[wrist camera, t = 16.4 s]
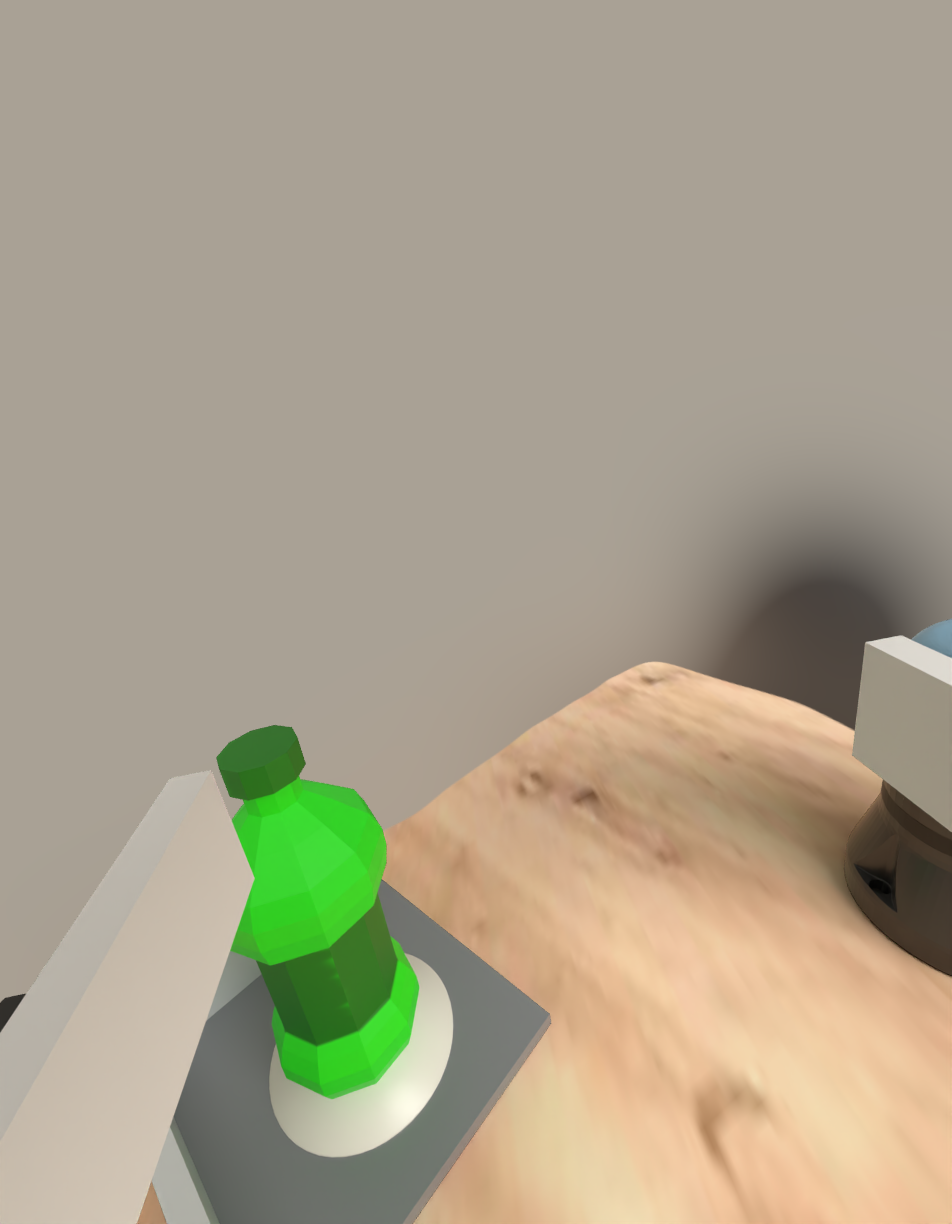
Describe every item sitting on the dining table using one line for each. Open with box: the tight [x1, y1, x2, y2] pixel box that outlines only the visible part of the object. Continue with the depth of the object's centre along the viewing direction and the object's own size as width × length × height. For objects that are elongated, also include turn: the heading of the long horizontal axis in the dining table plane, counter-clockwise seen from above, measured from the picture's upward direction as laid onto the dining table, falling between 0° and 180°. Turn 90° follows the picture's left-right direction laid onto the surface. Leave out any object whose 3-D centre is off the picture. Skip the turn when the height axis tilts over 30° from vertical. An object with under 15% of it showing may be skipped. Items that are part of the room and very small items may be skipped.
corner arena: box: [152, 879, 551, 1224], centre depth 38 cm, size 22×22×6 cm
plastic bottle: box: [217, 725, 420, 1099], centre depth 34 cm, size 10×10×25 cm
